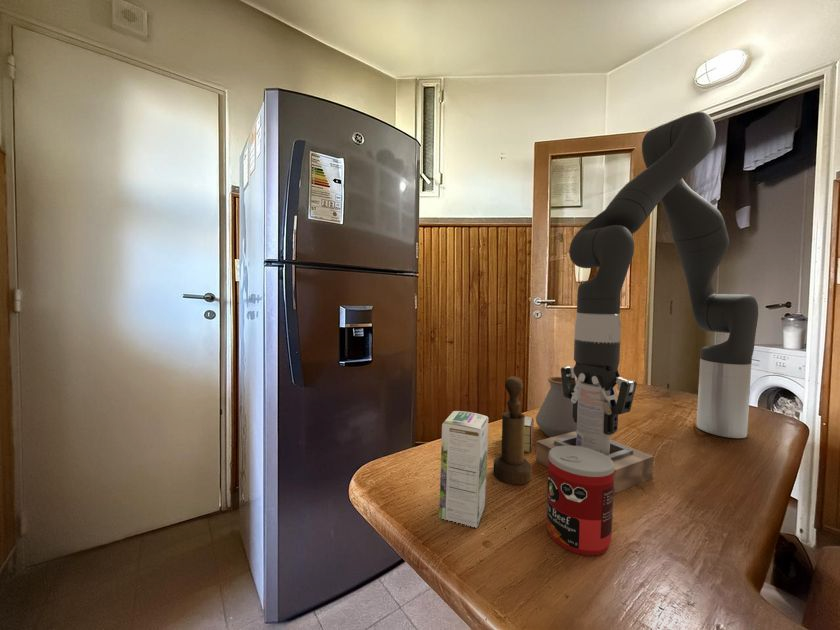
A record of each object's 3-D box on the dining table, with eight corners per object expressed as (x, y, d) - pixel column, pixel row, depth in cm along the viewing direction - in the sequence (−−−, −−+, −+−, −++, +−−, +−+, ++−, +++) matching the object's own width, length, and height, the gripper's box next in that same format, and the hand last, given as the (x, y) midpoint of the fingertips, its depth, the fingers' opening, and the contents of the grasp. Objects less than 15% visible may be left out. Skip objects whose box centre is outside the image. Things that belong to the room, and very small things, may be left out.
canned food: (536, 519, 50) (539, 445, 49) (589, 516, 50) (592, 443, 50) (563, 559, 42) (566, 473, 41) (624, 556, 43) (628, 470, 42)
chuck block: (583, 447, 74) (584, 426, 73) (652, 478, 61) (653, 453, 61) (536, 460, 67) (536, 438, 67) (602, 498, 55) (603, 470, 55)
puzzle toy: (506, 438, 78) (507, 413, 78) (533, 442, 76) (533, 417, 76) (502, 448, 73) (503, 422, 72) (530, 453, 71) (531, 426, 70)
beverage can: (613, 470, 61) (617, 387, 60) (580, 467, 62) (582, 385, 61) (603, 456, 66) (606, 380, 65) (572, 453, 67) (575, 378, 66)
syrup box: (449, 498, 55) (451, 409, 54) (486, 506, 52) (488, 414, 52) (438, 519, 49) (439, 421, 48) (479, 530, 47) (481, 427, 46)
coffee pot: (570, 448, 73) (573, 379, 72) (525, 431, 82) (526, 369, 81) (616, 426, 85) (619, 367, 85) (572, 413, 95) (574, 360, 94)
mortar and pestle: (531, 469, 64) (534, 374, 63) (530, 488, 58) (533, 383, 57) (495, 463, 66) (497, 371, 65) (491, 481, 60) (493, 379, 59)
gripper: (649, 341, 58) (645, 438, 59) (576, 333, 71) (574, 412, 72) (622, 344, 55) (618, 447, 56) (551, 334, 67) (548, 418, 68)
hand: (593, 427), depth 64 cm, fingers closed on beverage can, 5 cm apart
